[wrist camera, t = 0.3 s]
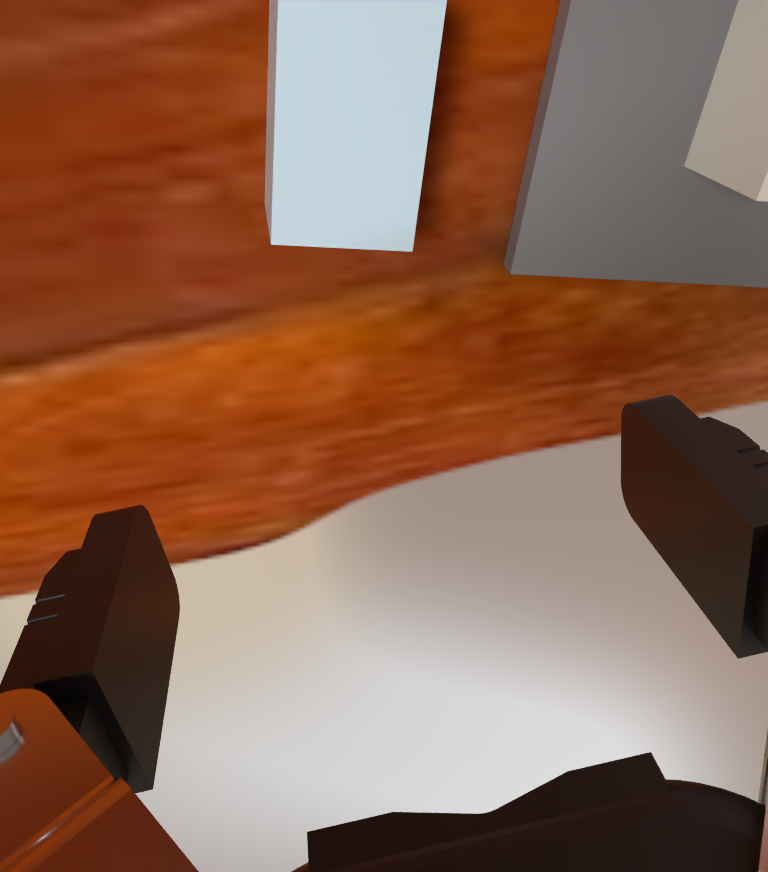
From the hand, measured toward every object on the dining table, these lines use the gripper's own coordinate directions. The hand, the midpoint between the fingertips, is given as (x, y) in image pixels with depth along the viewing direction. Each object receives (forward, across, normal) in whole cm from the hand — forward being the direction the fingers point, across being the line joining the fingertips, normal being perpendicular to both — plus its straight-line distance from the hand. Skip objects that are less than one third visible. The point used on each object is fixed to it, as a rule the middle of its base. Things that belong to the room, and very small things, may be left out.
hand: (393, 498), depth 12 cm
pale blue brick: (+20, -2, -4) cm, 21 cm away
